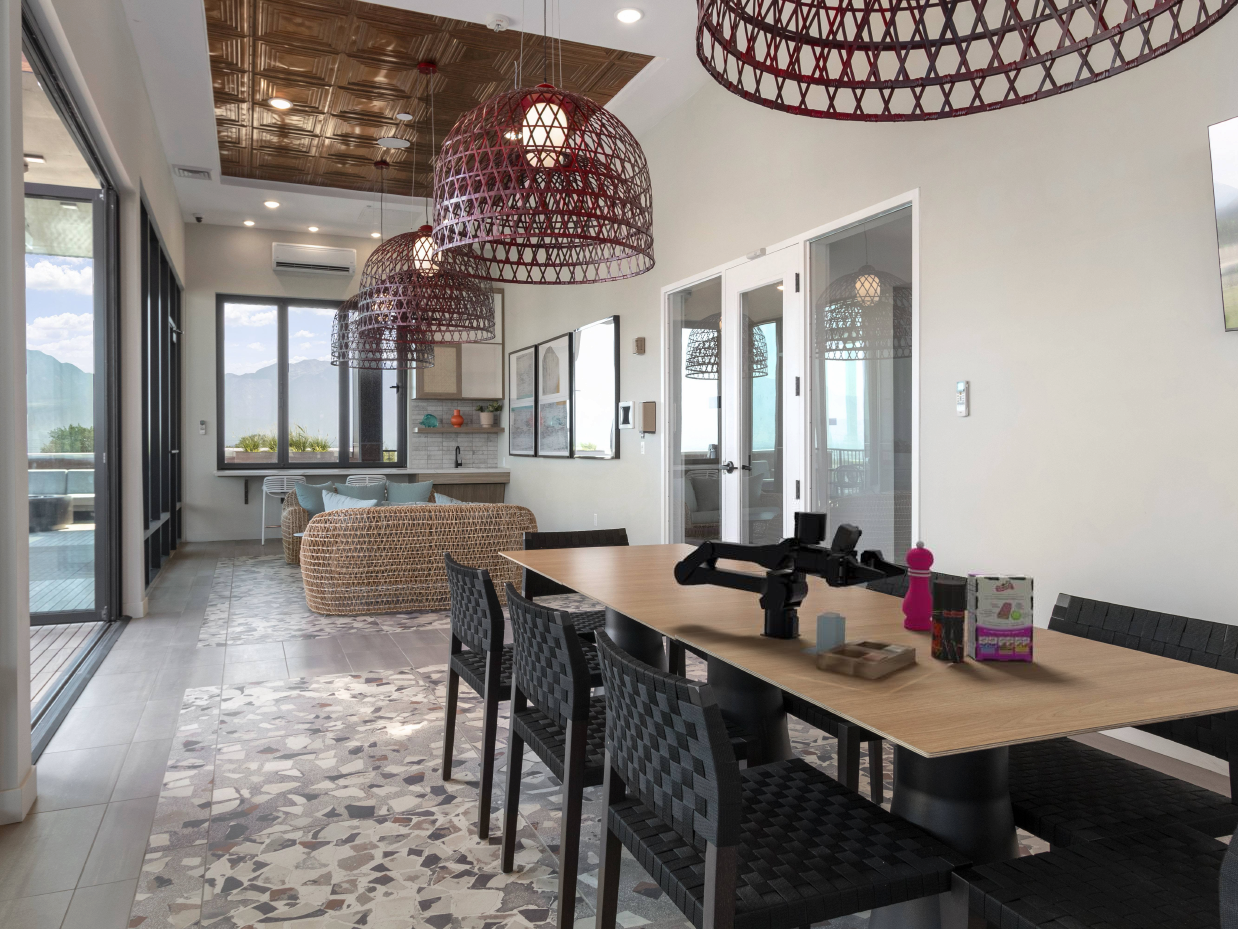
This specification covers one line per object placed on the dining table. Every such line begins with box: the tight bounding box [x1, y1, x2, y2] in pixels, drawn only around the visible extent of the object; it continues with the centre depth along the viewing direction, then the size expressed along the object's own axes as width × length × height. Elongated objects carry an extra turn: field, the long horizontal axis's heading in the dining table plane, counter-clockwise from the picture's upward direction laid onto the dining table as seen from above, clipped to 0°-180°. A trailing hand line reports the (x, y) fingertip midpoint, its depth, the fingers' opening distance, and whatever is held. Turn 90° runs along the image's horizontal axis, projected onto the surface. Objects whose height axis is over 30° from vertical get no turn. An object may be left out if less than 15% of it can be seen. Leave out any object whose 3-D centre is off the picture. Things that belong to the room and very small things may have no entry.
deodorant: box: [930, 579, 967, 664], centre depth 161 cm, size 6×6×15 cm
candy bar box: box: [966, 573, 1035, 663], centre depth 163 cm, size 11×5×16 cm, turn 88°
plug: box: [816, 611, 846, 652], centre depth 164 cm, size 4×4×8 cm
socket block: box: [815, 638, 917, 680], centre depth 154 cm, size 11×18×3 cm, turn 138°
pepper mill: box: [901, 540, 935, 631], centre depth 191 cm, size 7×7×20 cm
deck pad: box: [798, 645, 819, 656], centre depth 164 cm, size 9×9×1 cm
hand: (895, 573), depth 161 cm, fingers open, 9 cm apart
